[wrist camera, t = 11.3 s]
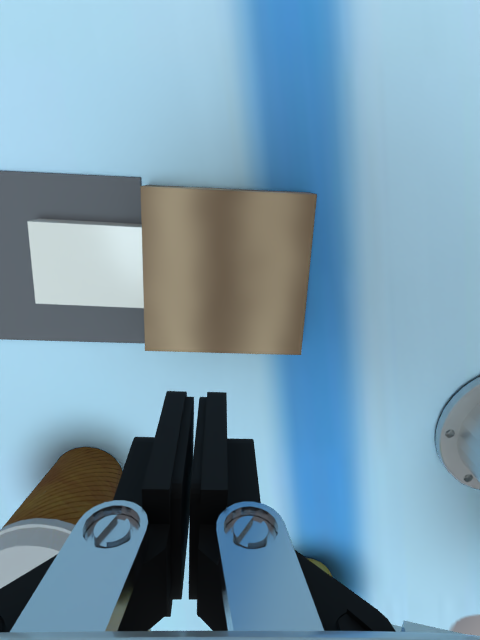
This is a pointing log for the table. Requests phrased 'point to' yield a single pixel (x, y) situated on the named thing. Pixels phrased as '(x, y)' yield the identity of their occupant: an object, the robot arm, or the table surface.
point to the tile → (86, 263)
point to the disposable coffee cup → (56, 509)
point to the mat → (15, 258)
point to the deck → (225, 269)
